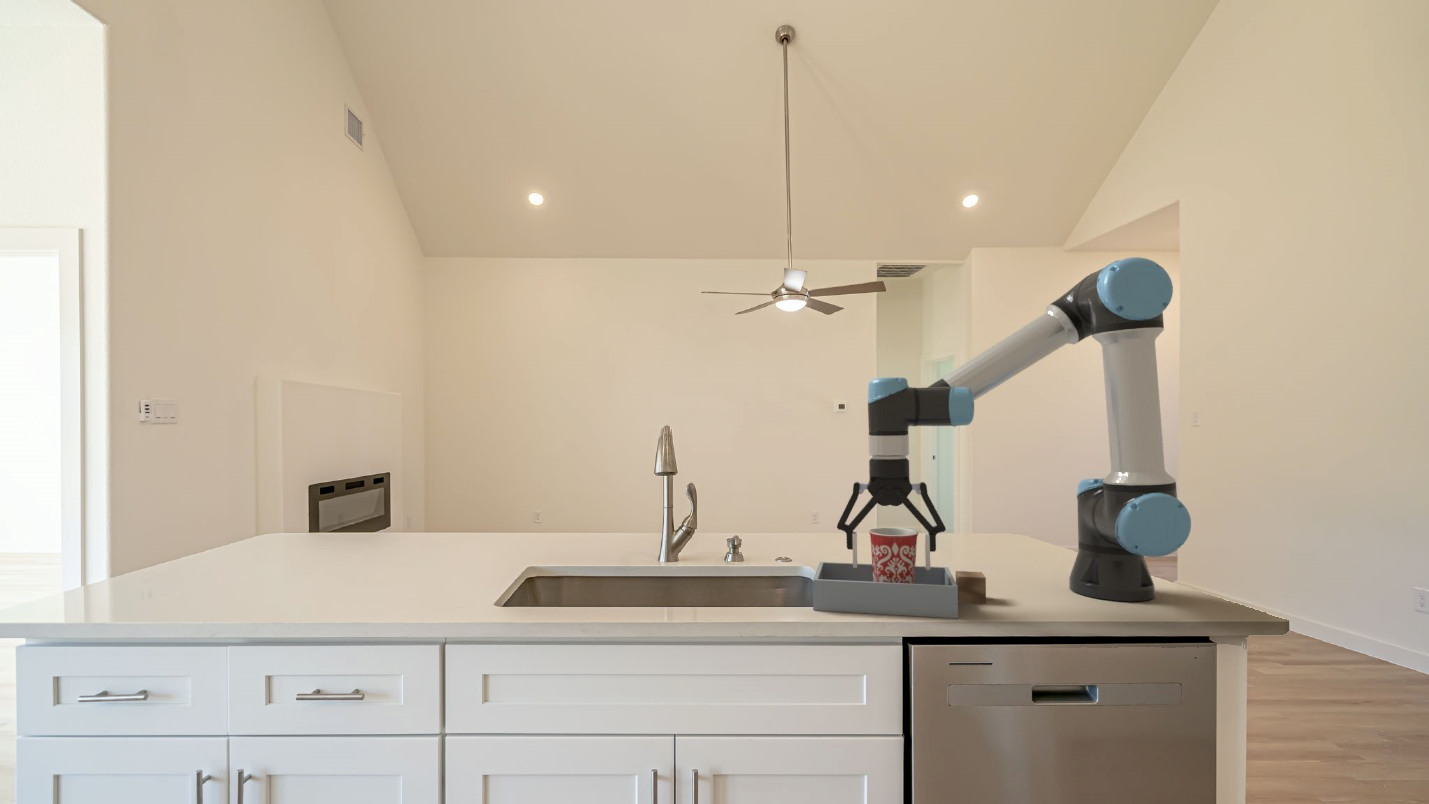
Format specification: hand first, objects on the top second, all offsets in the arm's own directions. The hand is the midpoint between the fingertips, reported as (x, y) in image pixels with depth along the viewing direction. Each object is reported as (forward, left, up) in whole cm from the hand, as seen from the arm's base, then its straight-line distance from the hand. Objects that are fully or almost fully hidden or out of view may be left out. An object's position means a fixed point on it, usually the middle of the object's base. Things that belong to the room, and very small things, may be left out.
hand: (891, 567), depth 137 cm
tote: (+1, 0, -7) cm, 7 cm away
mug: (0, 0, -6) cm, 6 cm away
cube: (-15, -6, -7) cm, 18 cm away
